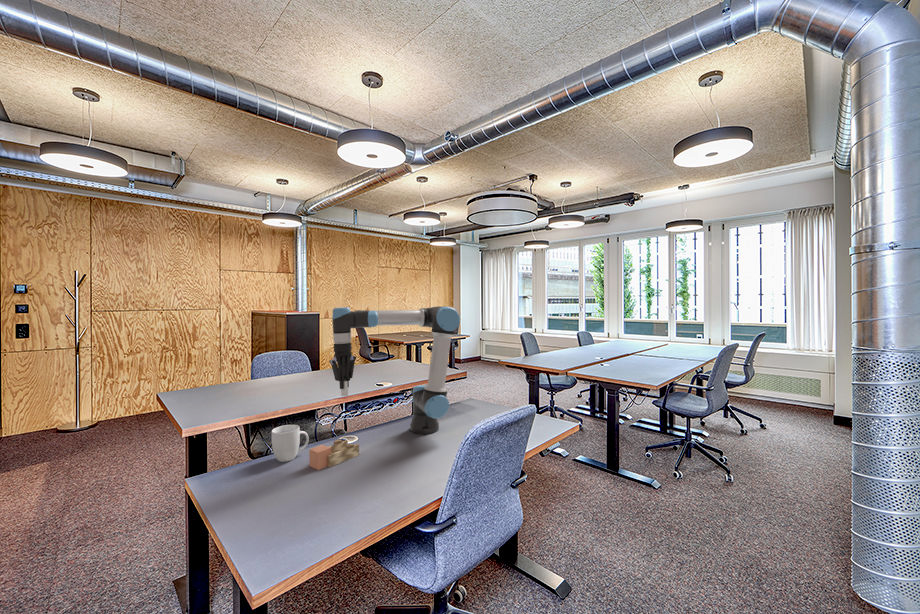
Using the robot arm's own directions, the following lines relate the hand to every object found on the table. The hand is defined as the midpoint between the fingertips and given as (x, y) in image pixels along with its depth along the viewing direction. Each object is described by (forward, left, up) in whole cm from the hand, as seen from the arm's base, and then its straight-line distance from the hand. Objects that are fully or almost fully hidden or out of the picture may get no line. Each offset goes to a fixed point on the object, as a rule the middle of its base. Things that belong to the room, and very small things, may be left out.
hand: (344, 395), depth 165 cm
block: (+13, +1, -26) cm, 29 cm away
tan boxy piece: (+5, +1, -26) cm, 26 cm away
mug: (+17, -17, -26) cm, 35 cm away
